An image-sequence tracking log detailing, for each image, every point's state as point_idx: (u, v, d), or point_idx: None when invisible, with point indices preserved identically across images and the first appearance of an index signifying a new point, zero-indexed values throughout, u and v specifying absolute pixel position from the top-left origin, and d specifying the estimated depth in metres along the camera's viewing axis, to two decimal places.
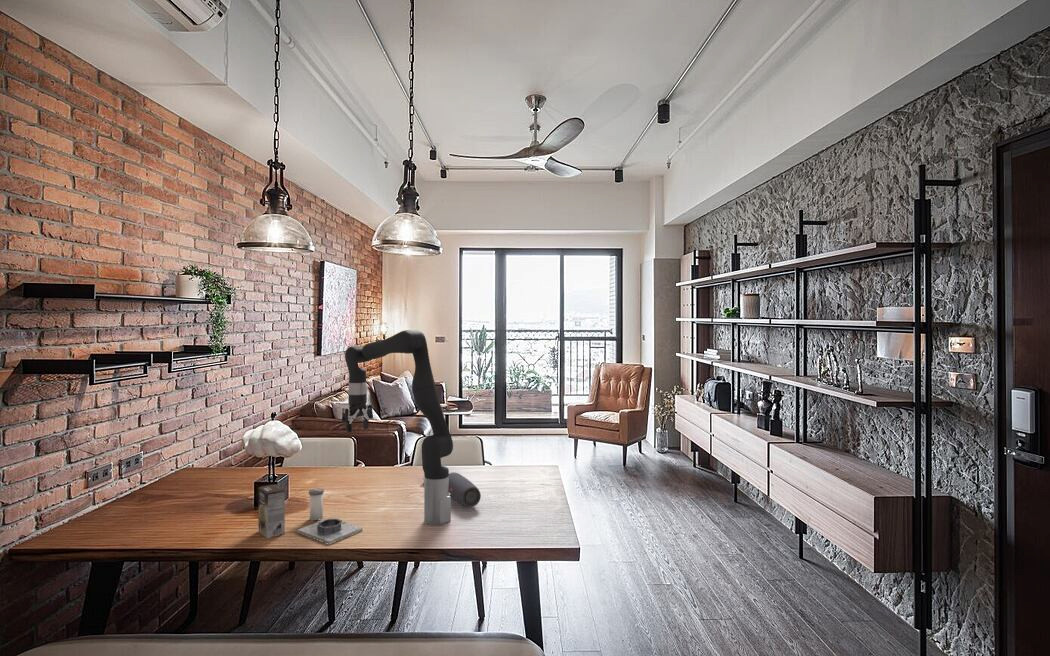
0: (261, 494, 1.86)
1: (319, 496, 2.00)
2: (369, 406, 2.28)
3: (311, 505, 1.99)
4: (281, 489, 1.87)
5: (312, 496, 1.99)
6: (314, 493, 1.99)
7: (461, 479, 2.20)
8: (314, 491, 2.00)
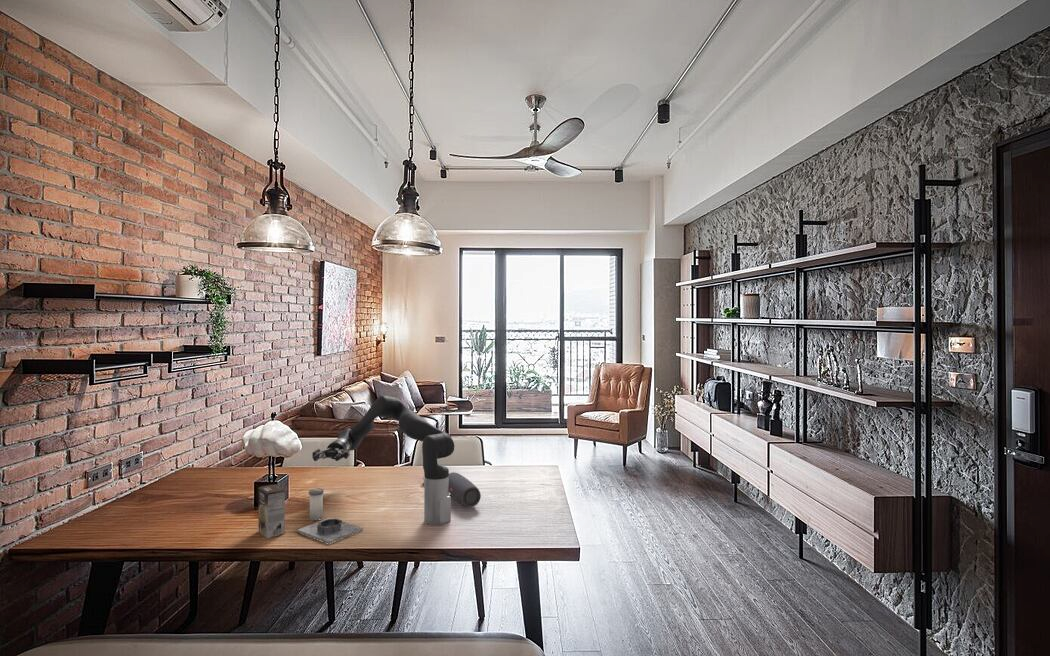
0: (261, 494, 1.86)
1: (319, 496, 2.00)
2: (347, 450, 2.22)
3: (311, 505, 1.99)
4: (281, 489, 1.87)
5: (312, 496, 1.99)
6: (314, 493, 1.99)
7: (461, 479, 2.20)
8: (314, 491, 2.00)
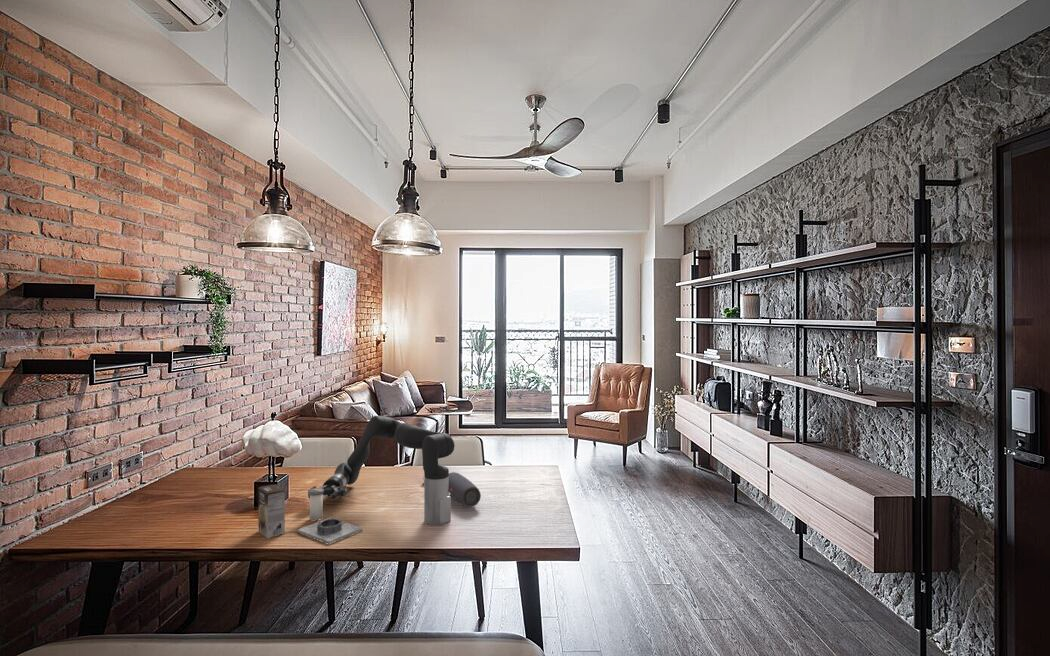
0: (261, 494, 1.86)
1: (319, 496, 2.00)
2: None
3: (311, 505, 1.99)
4: (281, 489, 1.87)
5: (312, 496, 1.99)
6: (314, 493, 1.99)
7: (461, 479, 2.20)
8: (314, 491, 2.00)
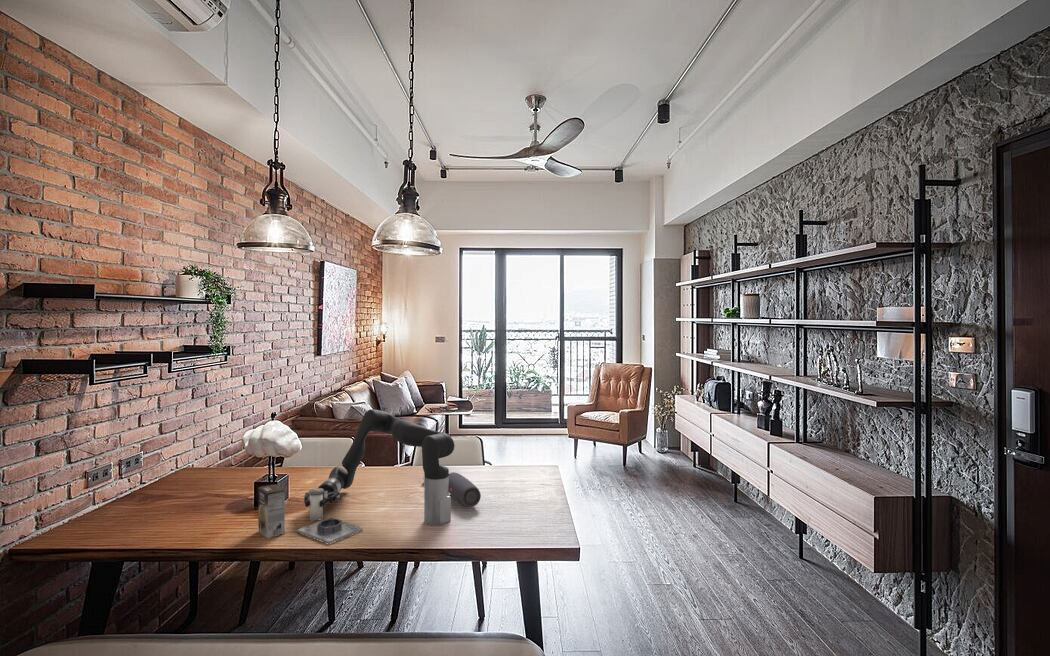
0: (261, 494, 1.86)
1: (319, 496, 2.00)
2: None
3: (311, 505, 1.99)
4: (281, 489, 1.87)
5: (312, 496, 1.99)
6: (314, 493, 1.99)
7: (461, 479, 2.20)
8: (314, 491, 2.00)
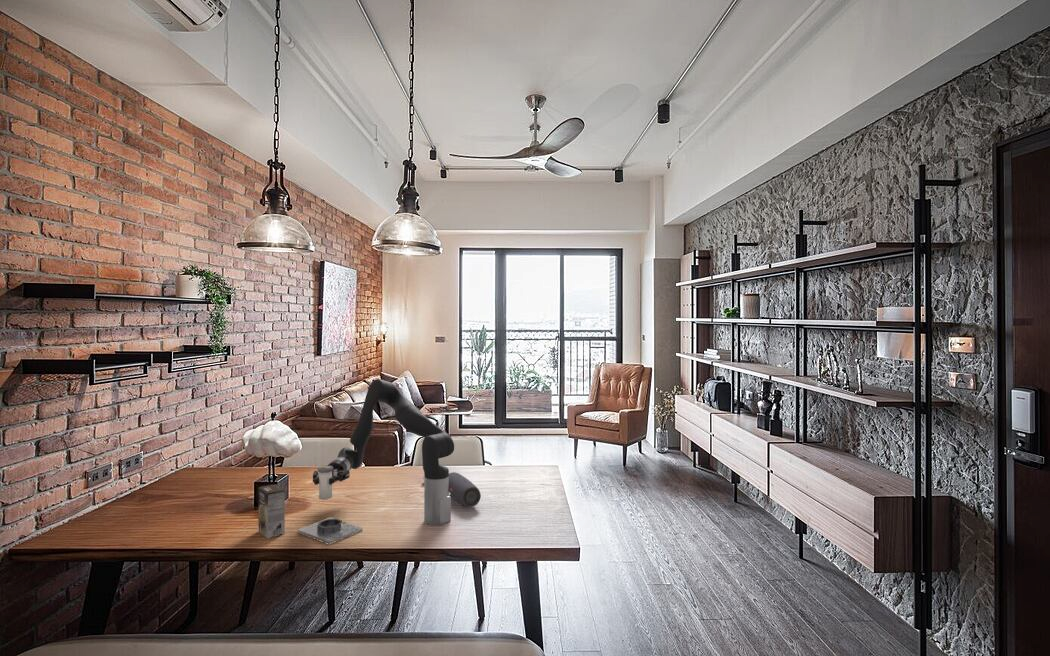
0: (261, 494, 1.86)
1: (328, 473, 1.92)
2: None
3: (320, 483, 1.91)
4: (281, 489, 1.87)
5: (321, 473, 1.91)
6: (323, 470, 1.90)
7: (461, 479, 2.20)
8: (323, 468, 1.92)
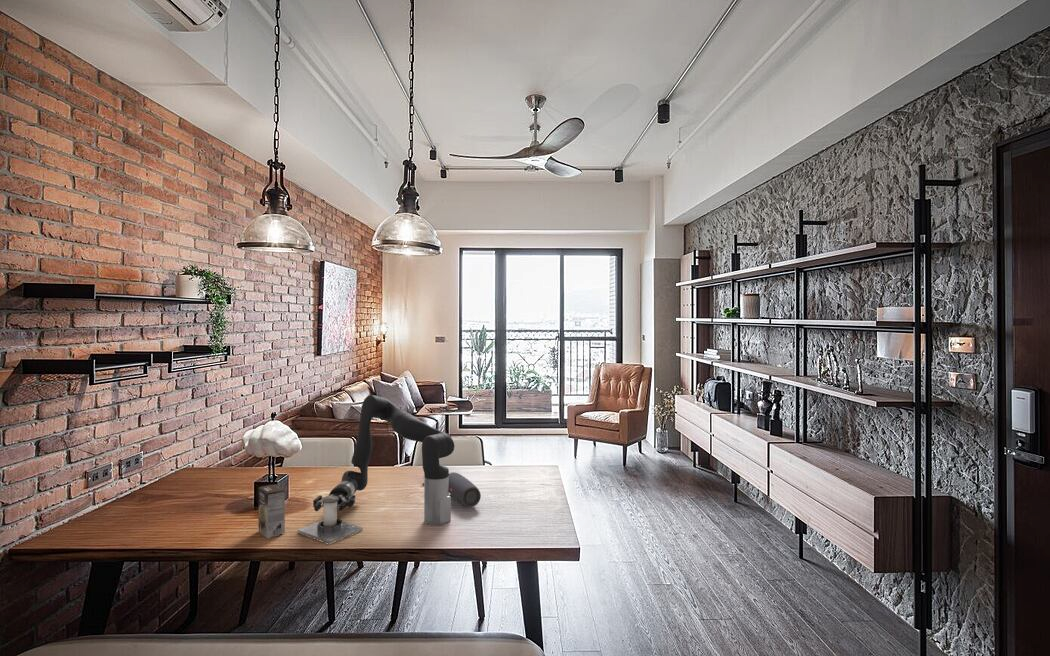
0: (261, 494, 1.86)
1: (334, 504, 1.88)
2: (352, 496, 1.97)
3: (325, 514, 1.87)
4: (281, 489, 1.87)
5: (326, 504, 1.87)
6: (328, 501, 1.87)
7: (461, 479, 2.20)
8: (328, 499, 1.88)
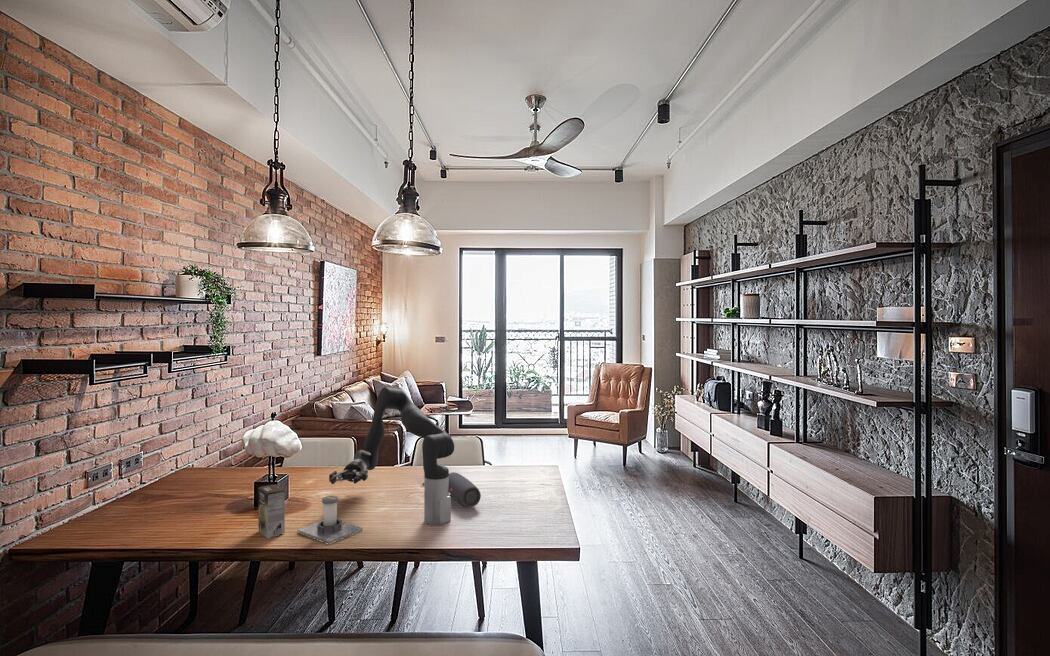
0: (261, 494, 1.86)
1: (333, 504, 1.88)
2: (364, 471, 2.12)
3: (325, 514, 1.87)
4: (281, 489, 1.87)
5: (326, 505, 1.87)
6: (328, 501, 1.86)
7: (461, 479, 2.20)
8: (328, 499, 1.88)
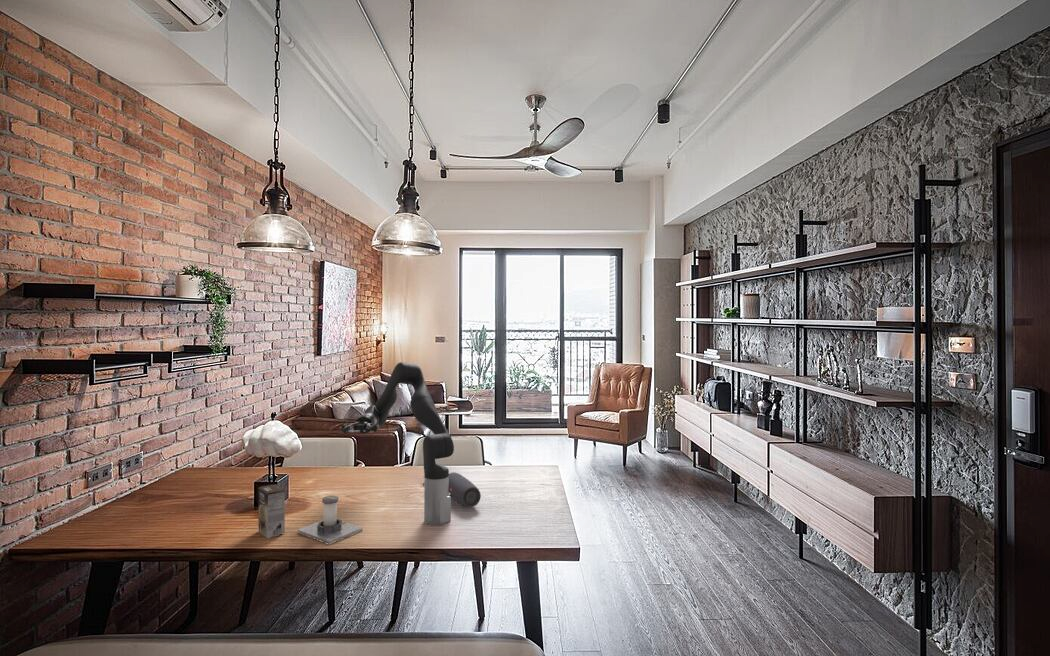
0: (261, 494, 1.86)
1: (333, 504, 1.88)
2: (375, 424, 2.20)
3: (325, 514, 1.87)
4: (281, 489, 1.87)
5: (326, 504, 1.87)
6: (328, 501, 1.86)
7: (461, 479, 2.20)
8: (328, 499, 1.88)
